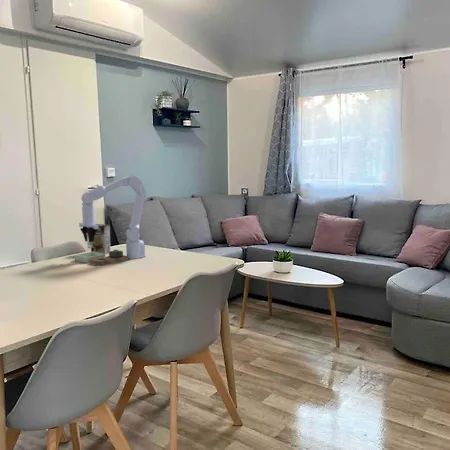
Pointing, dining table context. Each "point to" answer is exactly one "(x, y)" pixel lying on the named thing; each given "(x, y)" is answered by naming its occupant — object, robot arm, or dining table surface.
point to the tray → (88, 256)
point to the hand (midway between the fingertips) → (89, 241)
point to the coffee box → (101, 239)
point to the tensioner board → (109, 258)
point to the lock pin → (89, 242)
